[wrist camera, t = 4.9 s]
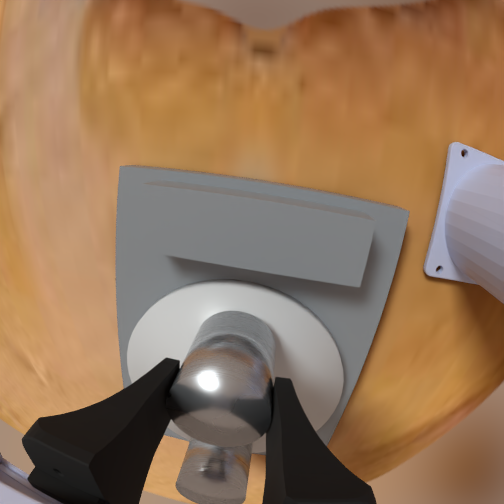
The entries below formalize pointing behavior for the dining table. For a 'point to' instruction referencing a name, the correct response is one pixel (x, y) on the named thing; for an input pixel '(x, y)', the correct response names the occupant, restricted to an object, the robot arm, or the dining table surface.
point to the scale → (254, 276)
